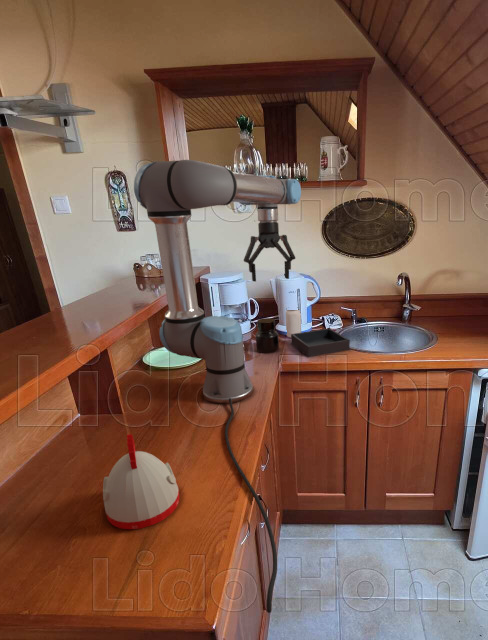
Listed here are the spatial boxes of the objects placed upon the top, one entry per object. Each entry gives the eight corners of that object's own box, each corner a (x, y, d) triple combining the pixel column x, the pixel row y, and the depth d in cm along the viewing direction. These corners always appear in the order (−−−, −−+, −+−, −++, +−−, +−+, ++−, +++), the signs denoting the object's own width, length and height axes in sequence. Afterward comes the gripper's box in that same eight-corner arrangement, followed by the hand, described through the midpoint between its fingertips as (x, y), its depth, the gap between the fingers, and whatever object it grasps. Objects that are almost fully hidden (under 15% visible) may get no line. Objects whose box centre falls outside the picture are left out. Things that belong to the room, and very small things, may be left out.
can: (290, 333, 187) (289, 306, 182) (303, 334, 184) (302, 307, 179) (284, 337, 181) (282, 310, 176) (297, 338, 179) (296, 311, 174)
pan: (349, 349, 165) (349, 339, 163) (308, 356, 159) (308, 346, 157) (329, 337, 180) (329, 328, 178) (291, 343, 173) (291, 334, 172)
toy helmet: (175, 476, 92) (164, 416, 86) (184, 516, 81) (172, 450, 74) (107, 493, 88) (90, 431, 81) (105, 538, 76) (86, 469, 70)
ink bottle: (283, 347, 169) (282, 318, 164) (272, 354, 162) (271, 324, 157) (263, 344, 173) (261, 316, 168) (251, 351, 166) (249, 322, 161)
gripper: (295, 220, 164) (296, 275, 172) (233, 222, 155) (237, 280, 164) (302, 221, 158) (303, 278, 166) (238, 223, 149) (242, 283, 157)
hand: (270, 279), depth 165 cm, fingers open, 13 cm apart
